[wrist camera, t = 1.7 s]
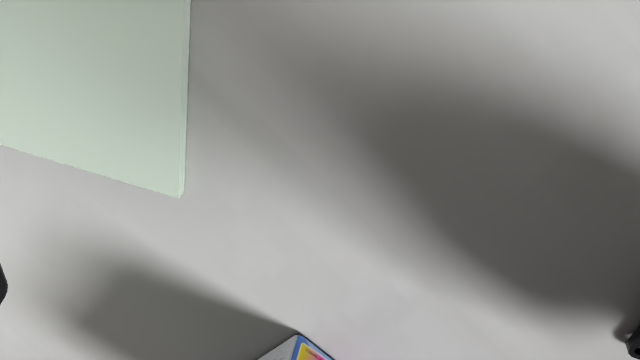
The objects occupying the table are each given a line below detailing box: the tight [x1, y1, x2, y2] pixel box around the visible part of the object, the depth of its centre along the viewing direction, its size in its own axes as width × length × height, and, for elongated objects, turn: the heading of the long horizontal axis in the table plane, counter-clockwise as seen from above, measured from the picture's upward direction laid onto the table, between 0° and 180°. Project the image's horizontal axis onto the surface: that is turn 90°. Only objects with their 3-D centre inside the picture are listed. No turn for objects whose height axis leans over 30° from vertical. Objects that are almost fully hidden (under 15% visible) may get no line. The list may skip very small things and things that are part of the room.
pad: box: [0, 0, 191, 199], centre depth 22 cm, size 10×10×1 cm
